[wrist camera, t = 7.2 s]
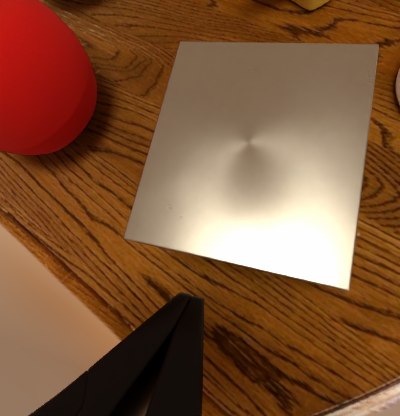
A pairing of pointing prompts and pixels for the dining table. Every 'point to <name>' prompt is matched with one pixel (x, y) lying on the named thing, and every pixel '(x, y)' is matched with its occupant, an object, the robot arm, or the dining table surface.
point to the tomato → (41, 80)
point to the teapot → (310, 3)
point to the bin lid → (261, 157)
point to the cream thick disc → (398, 86)
